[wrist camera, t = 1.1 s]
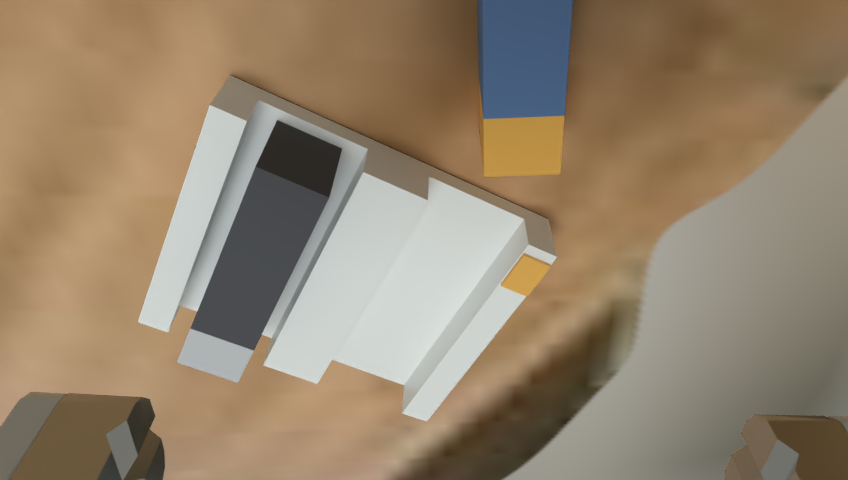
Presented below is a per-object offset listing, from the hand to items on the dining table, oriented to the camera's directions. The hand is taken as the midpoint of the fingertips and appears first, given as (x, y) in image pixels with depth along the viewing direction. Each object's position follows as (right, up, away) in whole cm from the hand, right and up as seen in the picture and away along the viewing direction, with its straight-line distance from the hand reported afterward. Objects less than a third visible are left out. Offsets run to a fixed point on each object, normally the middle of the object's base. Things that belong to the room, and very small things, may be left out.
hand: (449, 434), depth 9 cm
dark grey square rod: (-8, +3, +22) cm, 24 cm away
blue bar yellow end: (+3, +12, +17) cm, 21 cm away
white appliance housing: (-4, +2, +24) cm, 25 cm away
